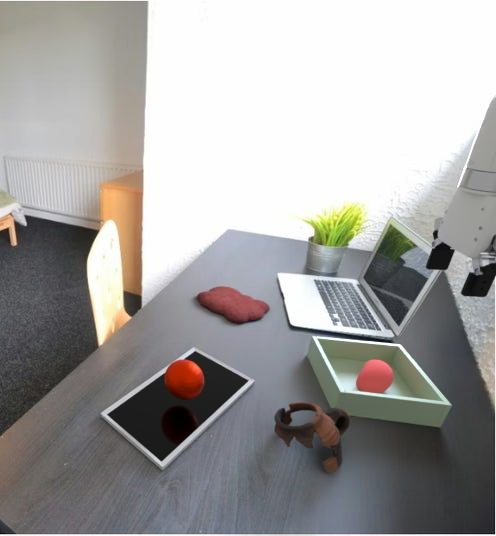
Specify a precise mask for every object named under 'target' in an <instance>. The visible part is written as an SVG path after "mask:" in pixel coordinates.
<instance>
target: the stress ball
mask: <svg viewBox="0 0 496 536" xmlns="http://www.w3.org/2000/svg"><path fill="white" fill-rule="evenodd" d="M393 378H394V376H393V371H392V369H391V367H390V366H389V365H388V364H386V363H385V362H383V361H381V360H369V361H367V362H366V363H365V364H364V366H363V369H362V370H361V372H360V373H359V375H358V377H357V380H356V387H357V389H358V390H359V391H361V392H369V393H377V394H380V393H382V392H384V391H386V390H387V389H388V388H389V387H390V386H391V384H392V382H393Z"/></svg>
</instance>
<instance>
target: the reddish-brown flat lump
mask: <svg viewBox="0 0 496 536" xmlns="http://www.w3.org/2000/svg"><path fill="white" fill-rule="evenodd" d="M196 298H197V300H198V301H199V304H200V305H201V306H203V307H204V308H206V309H209V310H210V311H211V312H213V313H216V314H220V315H222V316H224V317H225V318H226V320H228V321H230V322H232V323H236V324H243V323H247V322H248V321H258V320H261V319H262V318H264V316H265V314H266V313H268V312H269V311H270V310H271V307H270V305H269V304H268V303H267V302H266V301H264V300H261V299H254V298H253V297H252V296H250V295H248V294H247V295H246V294H243V293H241V291H239V290H238V289H235V288H233V287H231V286H223V285H219V286H215V287H213V288H210V289H209V290H206V291H201V292H199V293H198V294H197V296H196Z"/></svg>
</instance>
